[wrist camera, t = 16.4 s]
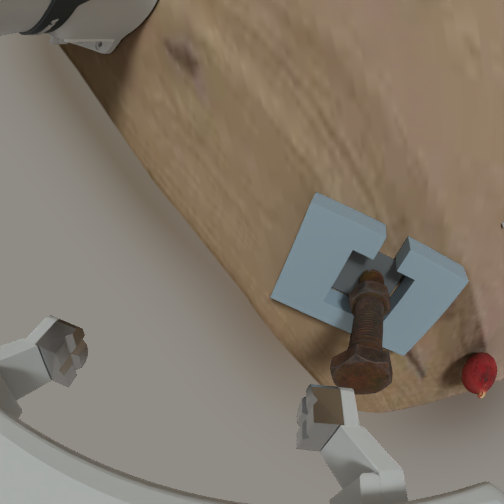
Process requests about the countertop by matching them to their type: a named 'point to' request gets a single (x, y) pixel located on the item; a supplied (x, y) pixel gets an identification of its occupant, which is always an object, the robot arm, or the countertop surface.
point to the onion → (479, 373)
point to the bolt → (365, 339)
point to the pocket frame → (352, 267)
